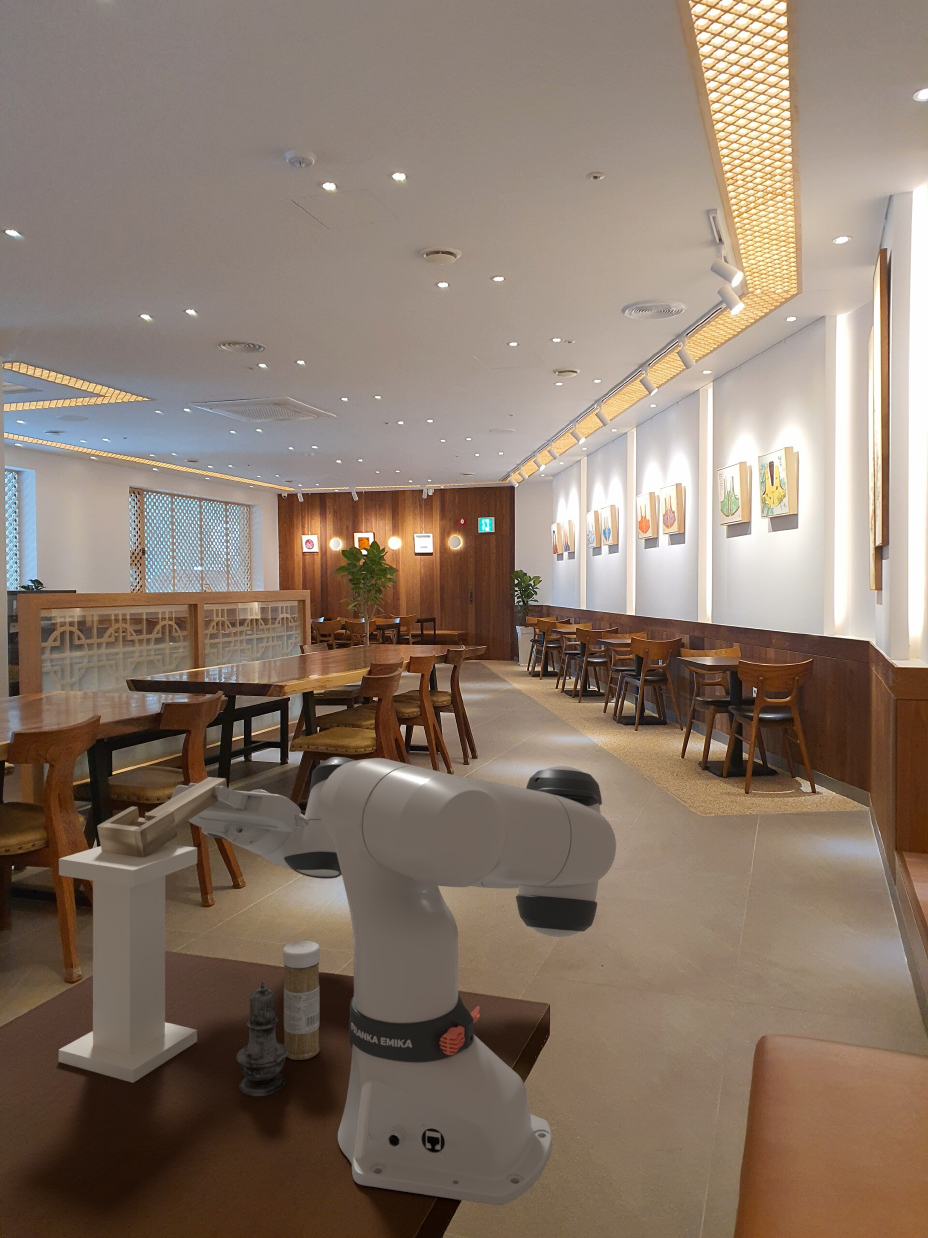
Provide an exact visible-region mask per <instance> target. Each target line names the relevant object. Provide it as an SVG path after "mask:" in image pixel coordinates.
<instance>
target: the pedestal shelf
mask: <svg viewBox="0 0 928 1238" xmlns="http://www.w3.org/2000/svg"><path fill="white" fill-rule="evenodd" d="M196 864H198V847H195V846H193V847H192V846H186V845H179V844H171V843H166V844H165V845H163V846H162V847H160V848H158V849H157V850H155V851H154V852H152V853H151V854H149V855H148V856H146V857H144V858H143V857H136V856H129V855H122V854H115V853H108V852H102V850H101V845H100V846H97V847H93V848H90V849H86V850H83V851H80V852H76V853H74V854H70V855H67V856H63V857H61V858H59V859H58V875H59V876H63V877H69V878H74V879H82V880H87V881H92V1031H90V1032H88V1033H86V1034H85V1035H83V1036H81V1037H79V1038H77V1039H76V1040H74V1041H72V1042H71V1043H68V1044H66V1045H65V1046H62V1047H61V1048H60V1049H58V1062H59V1063H61V1064H65V1065H69V1066H72V1067H75V1068H79V1069H83V1070H86V1071H90V1072H92V1073H93V1072H94V1073H96V1074H97V1073H98V1074H100V1075H103V1076H108V1077H111V1078H114V1079H118V1080H121V1081H124V1082H129V1083H132V1084H134V1083H135V1082H136V1081H138V1080H140V1079H141V1078H143V1077H144V1076H146V1075H148V1074H149V1073H151V1072H152V1071H154V1070H155V1069H157V1068H159V1067H160V1066H162V1065H163V1064H164V1063H166V1062H168V1061H169V1060H170V1059H172V1058H174V1057H175V1056H177V1055H179V1054H180V1053H181V1052H183V1051H184V1050H187V1048H189V1047H191V1046H192V1045H194V1044H195V1043H197V1042H198V1029H194V1028H190V1027H186V1026H182V1025H179V1024H176V1023H175V1024H174V1023H170V1022H166V876H167V875H170V874H173V873H174V872H177V871H181V870H183V869H185V868H189V867H191V866H194V865H196Z"/></svg>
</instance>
